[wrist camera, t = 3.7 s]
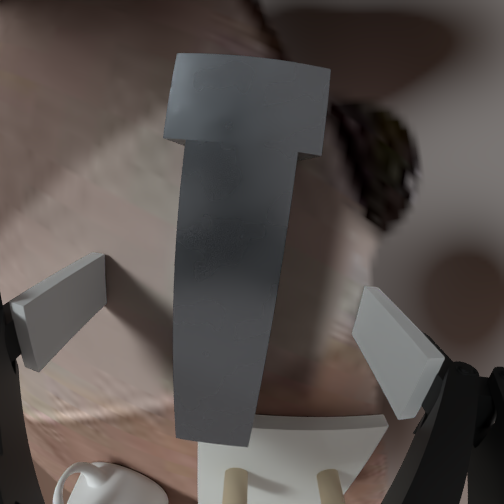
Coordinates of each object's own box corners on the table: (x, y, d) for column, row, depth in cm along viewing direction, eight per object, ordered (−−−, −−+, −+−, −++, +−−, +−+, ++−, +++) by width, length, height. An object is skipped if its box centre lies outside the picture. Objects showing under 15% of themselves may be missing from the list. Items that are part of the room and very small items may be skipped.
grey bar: (198, 84, 12) (177, 53, 8) (309, 96, 12) (330, 69, 8) (176, 386, 16) (161, 434, 12) (261, 397, 16) (263, 448, 12)
